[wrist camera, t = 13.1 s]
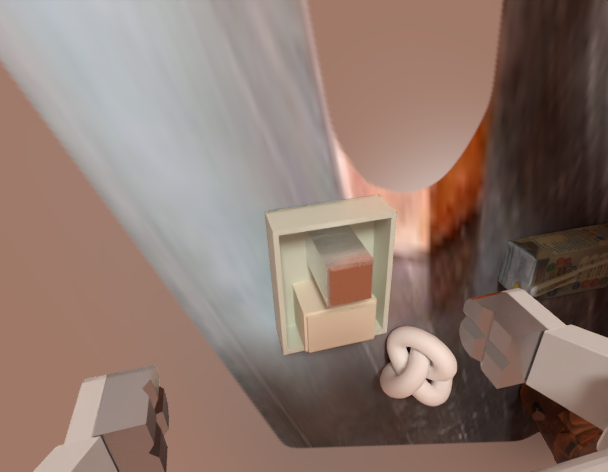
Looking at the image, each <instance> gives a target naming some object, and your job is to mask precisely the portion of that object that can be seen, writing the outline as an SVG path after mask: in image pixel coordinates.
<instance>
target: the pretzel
mask: <svg viewBox="0 0 608 472" xmlns="http://www.w3.org/2000/svg"><path fill="white" fill-rule="evenodd" d="M406 347H411V350H410V355H409V353H408V351H407V348H406ZM387 352H388V355H389V358H390V361H391V362H389V363H388V364H387V365H386V366H385V367H384V369H383V370H382V373H381V377H380V384H381V387H382V390H383V391H384V392H385V393H386V394H387V395H388V396H390V397H393V398H406V397H408V396H410V395H413V396H414V397H415V398H416V399H417V400H419V401H420V402H422V403H423V404H426V405H428V406H438V405H440V404H442V403H444V402H445V401H446V400H447V399H448V397H449V395H450V392H451V387H452V378H453V377H454V375H455V374H456V372H457V362H456V359H455V357H454V355H453V354H452V352H451V351H450V350H449V349H448V347H447V346H446V345H445V344H444V343H442V342H441V341H440V340H439V339H438V338H437V337H436V336H434V335H432V334H430V333H428V332H426V331H424V330H422V329H419V328H416V327H412V326H402V327H399V328H396V329H394V330H393V331H392V332H391V333H390V334H389V336H388V339H387ZM426 378H427V379H430V380H432V382H431V384H430V383H428V382H427V380H426Z"/></svg>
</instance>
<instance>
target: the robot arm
mask: <svg viewBox="0 0 608 472" xmlns="http://www.w3.org/2000/svg"><path fill="white" fill-rule="evenodd" d="M463 311H464V312H465V314H466V315H467V316H466V317H465V319H464V320H463V321H462V322H461V324H460V331H459V334H460V338H461V342H462V344H463V346H464V348H465V350H466V351H467V353H468V354H469V355H470V357H472V358H474V359H476V360H478V361H480V362H481V370H482V371H483V373H484V374H485V375H486V376H487V378H488V379H489V380H490V381H491V382H492V384H493V385H494V386H495V387H496V389H499V388H503V387H508V386H512V385H516V384H521V383H525V382H526V384H527V385H528V386H530V387H532V388H533V389H535V390H537V391H538V392H540V393H542V394H543V395H545V396H547V397H548V398H550V399H552V400H553V401H555V402H557V403H558V404H560V405H562V406H563V407H565V408H567V409H568V410H570V411H572V412H573V413H575V414H577V415H578V416H580V417H582V418H583V419H585V420H587V421H588V422H590V423H591V424H593V425H595V426H596V427H598V428H600V429H601V430H603V431H604V432H603V433H602V435H601V437H600V439H599V441H598V443H597V451H598V452H594V453H591V454H588V455H585V456H582V457H578V458H575V459H572V460H569V461H565V462H562V463H559V464H556V465H553V466H550V467H546V468H543V469H540V470H537V471H533V472H608V338H607V337H604V336H601V335H598V334H596V333H593V332H590V331H588V330H585V329H582V328H579V327H577V326H574V325H567V326H566V325H565V324H564V323H563V322H562V321H560V320H559V319H558V318H557V317H556V316H554V315H553V314H552V313H551V312H550V311H548V310H547V309H546V308H545V307H544V306H542V305H541V304H540V303H539V302H538V301H536V300H535V299H534V298H533V297H532V296H531V295H529V294H528V293H527V292H526V291H525V290H523V289H520V288H515V289H511V290H506V291H502V292H497V293H493V294H488V295H484V296H479V297H475V298H470V299H468V300H467V301H466V302H465V305H464V309H463ZM159 379H160V376H159V373H158V370H157V368H156V366H148V367H142V368H137V369H132V370H126V371H121V372H115V373H110V374H107V375H102V376H96V377H91V378H86V379H85V380H84V382H83V383H82V385H81V387H80V391H79V395H78V398H77V401H76V405H75V408H74V412H73V415H72V418H71V422H70V425H69V429H68V432H67V436H66V439H65V443H64V445H60V446H56V447H55V449H54V450H53V451H52V452H51V453H50V454H49V455H48V456H47V457H46V458H45V459H44V461H43V462H42V463H41V464H40V465H39V466H38V467H37V468H36V469H35V470H34V471H33V472H166V466H167V448H168V447H167V444H166V441H165V439H164V435H165V434H166V432H167V431H168V428H169V426H168V425H169V415H168V403H167V398H166V394H165V391H164V389H163V388H161V387H160V386H159Z"/></svg>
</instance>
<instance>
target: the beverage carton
mask: <svg viewBox="0 0 608 472" xmlns="http://www.w3.org/2000/svg"><path fill="white" fill-rule="evenodd" d="M498 281H499V283H501V284H502V285H503V286H504V287H505V288H506V289H507V290H511V289H515V288H520V289H523V290H525V291H526V292H527V293H528V294H529V295H531V296H532V297H533V298H534V299H535V300H540V299H546V298H552V297H557V296H562V295H567V294H572V293H578V292H583V291H588V290H592V289H598V288H602V287H607V286H608V223H604V224H598V225H591V226H586V227H580V228H575V229H569V230H564V231H558V232H552V233H546V234H540V235H535V236H529V237H525V238H520V239H515V240H509V241H508V243H507V248H506V252H505V256H504V260H503V263H502V267H501V271H500V275H499V279H498Z"/></svg>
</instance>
